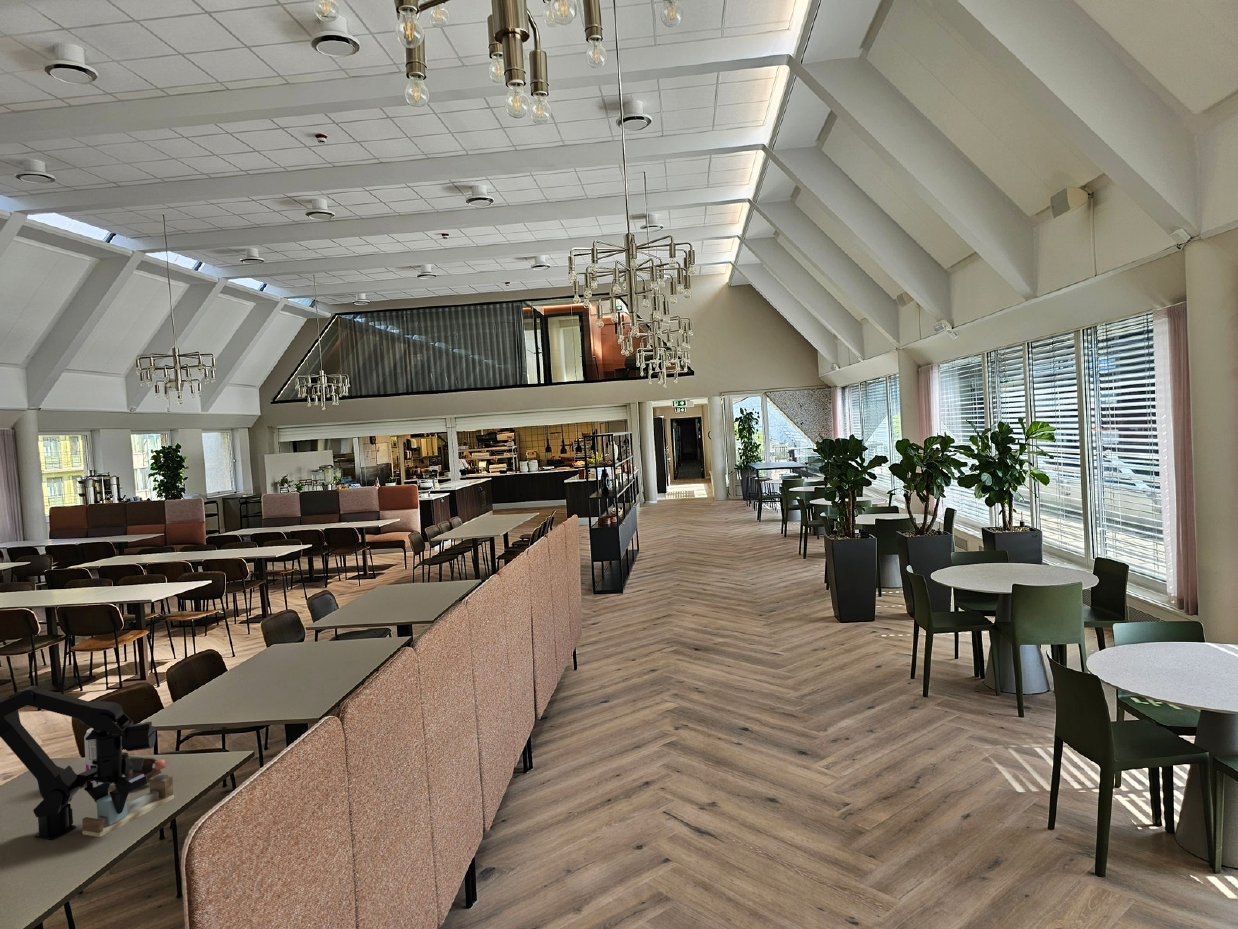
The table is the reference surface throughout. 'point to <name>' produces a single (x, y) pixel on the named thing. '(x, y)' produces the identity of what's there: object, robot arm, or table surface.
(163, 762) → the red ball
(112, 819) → the light blue block
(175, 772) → the table surface
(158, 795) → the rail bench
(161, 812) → the table surface
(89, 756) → the supplement can
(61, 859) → the table surface
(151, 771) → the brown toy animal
